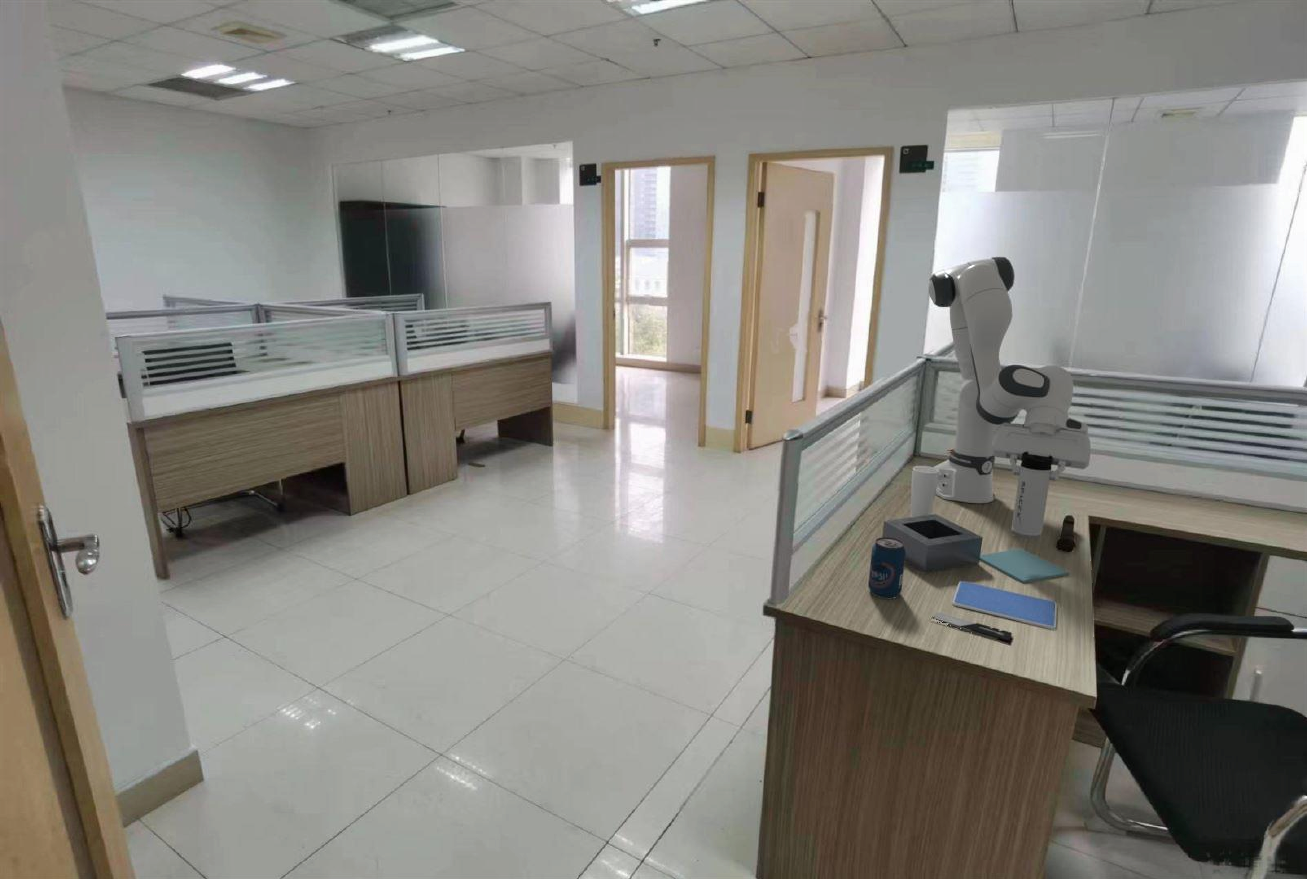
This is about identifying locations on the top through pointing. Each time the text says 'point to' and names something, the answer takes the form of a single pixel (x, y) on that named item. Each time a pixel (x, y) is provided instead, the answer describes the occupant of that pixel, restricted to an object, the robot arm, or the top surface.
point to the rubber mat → (1022, 565)
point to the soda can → (887, 567)
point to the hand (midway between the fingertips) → (1034, 476)
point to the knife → (975, 628)
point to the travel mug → (1031, 496)
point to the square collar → (935, 542)
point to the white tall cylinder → (923, 490)
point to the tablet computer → (1006, 604)
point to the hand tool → (1067, 535)
